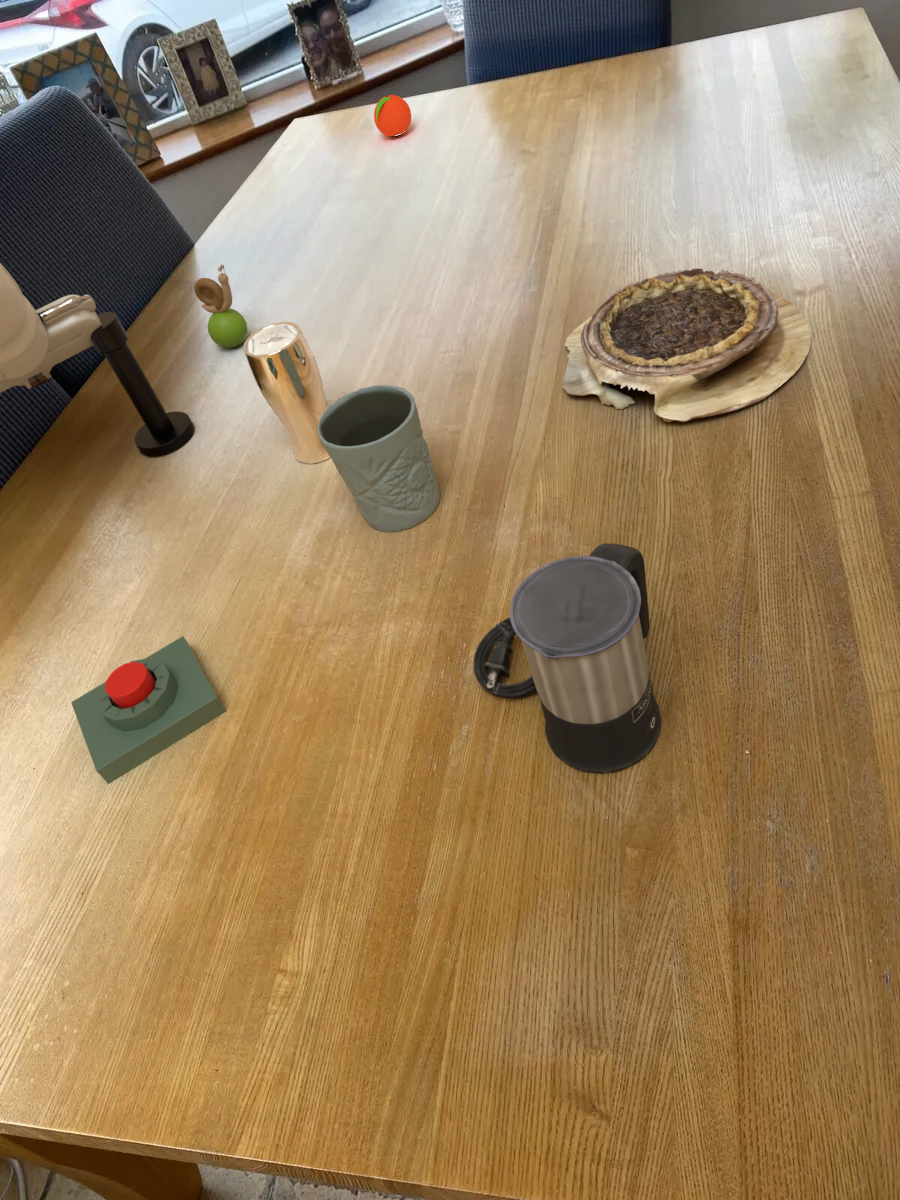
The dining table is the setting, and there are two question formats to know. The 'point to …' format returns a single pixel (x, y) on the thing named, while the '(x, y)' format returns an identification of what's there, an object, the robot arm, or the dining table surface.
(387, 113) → the clementine
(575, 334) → the pie
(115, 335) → the spout
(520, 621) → the milk frother
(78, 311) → the robot arm
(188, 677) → the control block
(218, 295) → the snail figurine
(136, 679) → the button
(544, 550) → the dining table surface
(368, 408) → the embossed green cup
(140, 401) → the base
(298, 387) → the beer glass
